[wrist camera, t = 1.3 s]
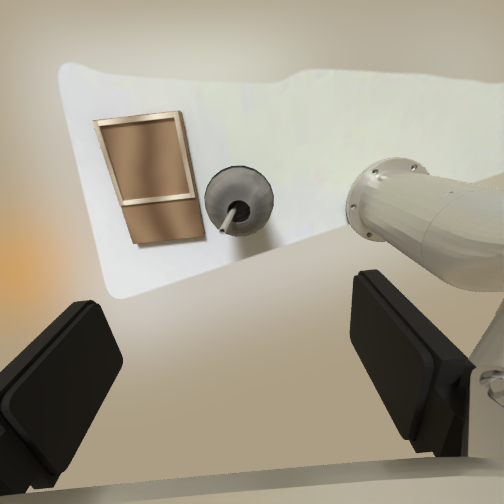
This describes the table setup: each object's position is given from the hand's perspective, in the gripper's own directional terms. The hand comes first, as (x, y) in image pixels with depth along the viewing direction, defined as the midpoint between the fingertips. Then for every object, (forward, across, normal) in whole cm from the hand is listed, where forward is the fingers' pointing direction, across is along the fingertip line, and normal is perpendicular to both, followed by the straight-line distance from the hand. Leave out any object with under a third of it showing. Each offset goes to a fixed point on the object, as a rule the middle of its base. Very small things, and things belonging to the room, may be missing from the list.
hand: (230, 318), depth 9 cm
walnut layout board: (+30, +12, -2) cm, 32 cm away
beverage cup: (+30, 0, 0) cm, 30 cm away
